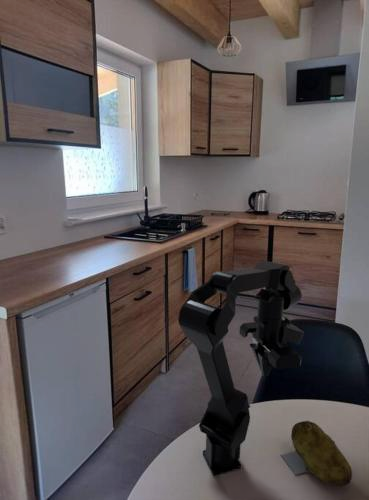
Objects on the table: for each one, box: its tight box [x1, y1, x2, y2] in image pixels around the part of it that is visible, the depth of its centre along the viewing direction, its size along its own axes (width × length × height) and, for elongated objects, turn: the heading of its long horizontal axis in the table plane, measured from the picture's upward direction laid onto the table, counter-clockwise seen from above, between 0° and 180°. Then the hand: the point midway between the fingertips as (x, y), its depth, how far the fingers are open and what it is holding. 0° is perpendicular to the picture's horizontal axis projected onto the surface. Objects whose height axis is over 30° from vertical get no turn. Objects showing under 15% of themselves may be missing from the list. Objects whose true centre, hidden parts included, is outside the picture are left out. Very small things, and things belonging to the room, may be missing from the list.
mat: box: [280, 451, 311, 476], centre depth 77 cm, size 11×5×1 cm, turn 108°
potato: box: [290, 420, 353, 487], centre depth 74 cm, size 8×13×8 cm, turn 15°
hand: (265, 375), depth 86 cm, fingers closed
